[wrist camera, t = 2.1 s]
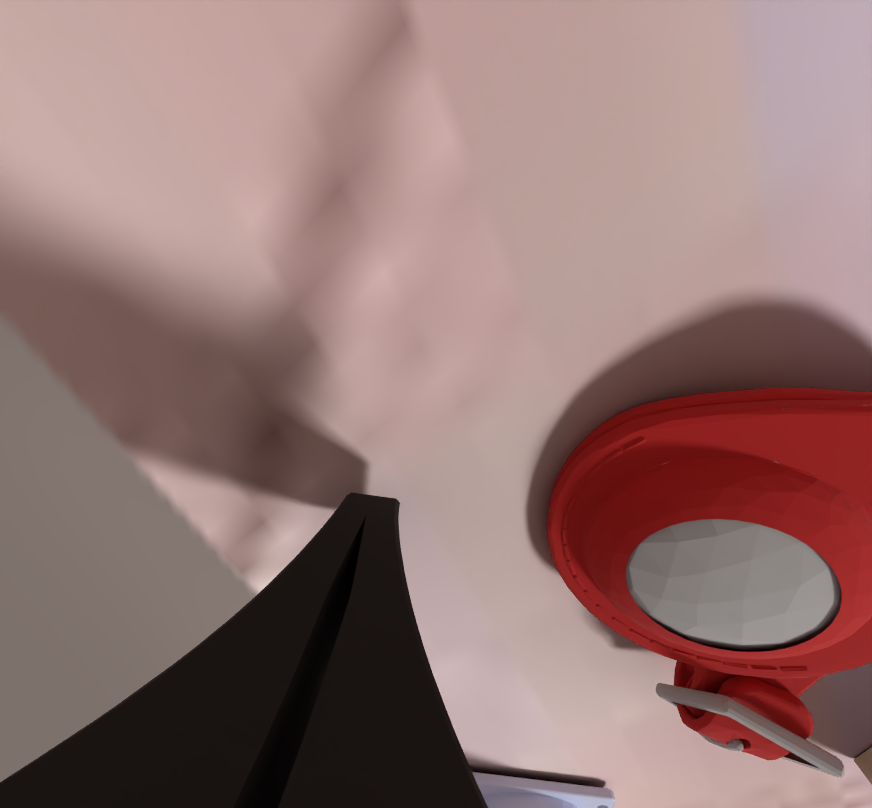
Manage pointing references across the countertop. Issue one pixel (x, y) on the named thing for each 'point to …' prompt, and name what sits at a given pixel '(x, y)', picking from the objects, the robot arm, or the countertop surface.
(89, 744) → the robot arm
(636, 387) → the countertop surface
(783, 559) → the tracker holder
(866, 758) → the wall board
